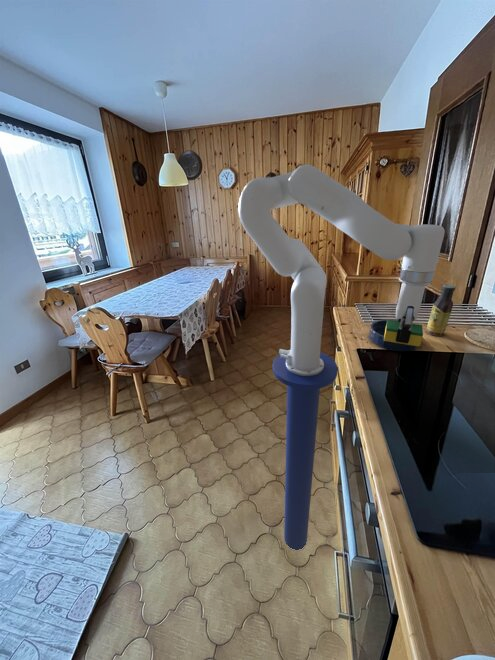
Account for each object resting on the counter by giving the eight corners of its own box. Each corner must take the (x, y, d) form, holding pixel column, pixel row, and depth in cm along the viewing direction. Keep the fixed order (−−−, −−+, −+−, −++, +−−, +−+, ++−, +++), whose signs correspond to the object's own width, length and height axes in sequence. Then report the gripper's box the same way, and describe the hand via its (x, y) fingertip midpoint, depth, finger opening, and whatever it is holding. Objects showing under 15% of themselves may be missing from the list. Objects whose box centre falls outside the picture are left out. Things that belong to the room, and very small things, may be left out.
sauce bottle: (423, 329, 116) (435, 282, 107) (440, 330, 115) (454, 282, 106) (429, 336, 110) (442, 288, 102) (446, 337, 109) (462, 288, 100)
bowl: (366, 347, 105) (368, 335, 103) (370, 327, 120) (371, 317, 117) (420, 356, 98) (424, 343, 96) (417, 334, 113) (420, 323, 110)
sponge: (383, 340, 81) (386, 328, 79) (384, 331, 86) (387, 319, 84) (419, 346, 77) (423, 333, 75) (418, 337, 82) (422, 324, 80)
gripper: (400, 266, 81) (388, 322, 89) (399, 283, 68) (386, 348, 76) (430, 268, 78) (415, 326, 86) (436, 287, 65) (417, 354, 73)
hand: (401, 336), depth 81 cm, fingers closed on sponge, 6 cm apart
